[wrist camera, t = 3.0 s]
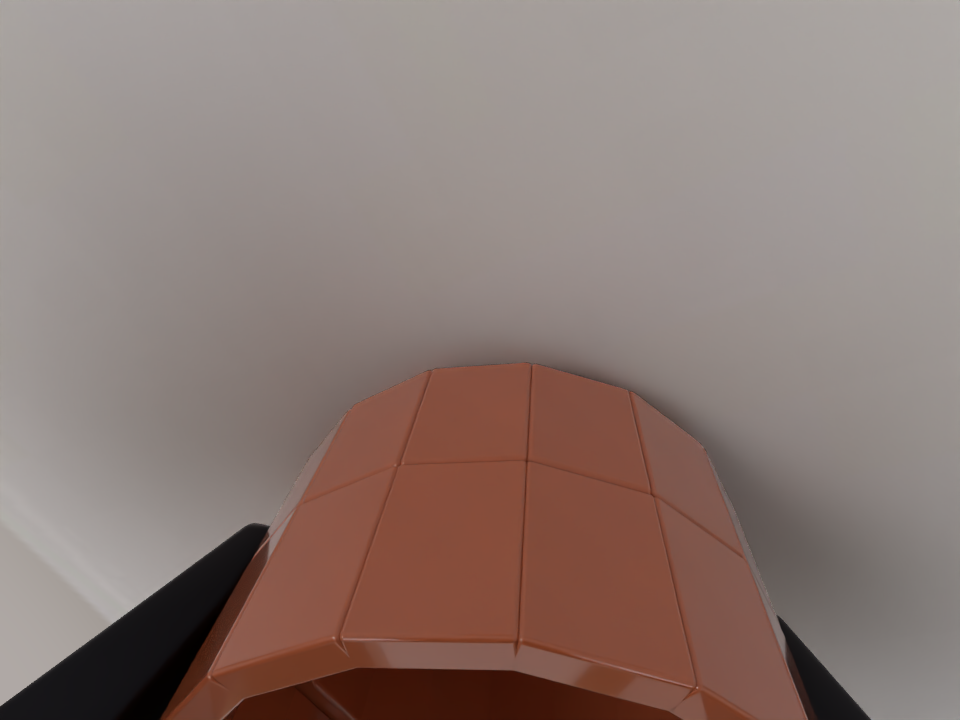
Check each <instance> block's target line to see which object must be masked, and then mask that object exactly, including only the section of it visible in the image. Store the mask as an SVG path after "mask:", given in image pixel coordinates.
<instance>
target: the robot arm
mask: <svg viewBox="0 0 960 720" xmlns="http://www.w3.org/2000/svg"><path fill="white" fill-rule="evenodd" d="M269 528H270V526H268V525H262V524H257V523H252V524H249V525H247V526H245V527H244V528H242V529H241V530H240V531H238V532H237V533H236V534H234V535H233V536H232V537H230V538H229V539H227V540H226V541H225V542H223V543H222V544H221V545H219V546H218V547H217V548H215V549H214V550H212V551H211V552H210V553H208V554H207V555H206V556H204V557H203V558H202V559H200V560H199V561H197V562H196V563H195V564H193V565H192V566H191V567H189V568H188V569H187V570H185V571H184V572H183V573H181V574H180V575H178V576H177V577H176V578H174V579H173V580H172V581H170V582H169V583H168V584H166V585H165V586H163V587H162V588H161V589H159V590H158V591H157V592H155V593H154V594H153V595H151V596H150V597H148V598H147V599H146V600H144V601H143V602H142V603H140V604H139V605H138V606H136V607H135V608H134V609H132V610H131V611H129V612H128V613H127V614H125V615H124V616H123V617H121V618H120V619H119V620H117V621H116V622H114V623H113V624H112V625H110V626H109V627H108V628H106V629H105V630H104V631H102V632H101V633H100V634H98V635H97V636H95V637H94V638H93V639H91V640H90V641H89V642H87V643H86V644H85V645H83V646H82V647H81V648H79V649H78V650H76V651H75V652H74V653H72V654H71V655H70V656H68V657H67V658H66V659H64V660H63V661H61V662H60V663H59V664H57V665H56V666H55V667H53V668H52V669H51V670H49V671H48V672H46V673H45V674H44V675H42V676H41V677H40V678H38V679H37V680H36V681H34V682H33V683H31V684H30V685H29V686H27V687H26V688H25V689H23V690H22V691H21V692H19V693H18V694H16V695H15V696H14V697H12V698H11V699H10V700H8V701H7V702H6V703H4V704H3V705H2V706H0V720H160V719H161V717H162V715H163V714H164V712H165V710H166V708H167V707H168V705H169V703H170V701H171V699H172V698H173V696H174V694H175V692H176V691H177V689H178V687H179V685H180V684H181V682H182V680H183V678H184V677H185V675H186V673H187V671H188V670H189V668H190V666H191V664H192V662H193V661H194V659H195V657H196V655H197V654H198V652H199V650H200V648H201V647H202V645H203V643H204V641H205V640H206V638H207V636H208V634H209V633H210V631H211V629H212V627H213V626H214V624H215V622H216V620H217V618H218V617H219V615H220V613H221V611H222V610H223V608H224V606H225V604H226V603H227V601H228V599H229V597H230V596H231V594H232V592H233V590H234V589H235V587H236V585H237V583H238V581H239V580H240V578H241V576H242V574H243V573H244V571H245V569H246V567H247V566H248V564H249V563H250V562H251V560H252V558H253V557H254V554H255V552H256V551H257V549H258V547H259V545H260V543H261V542H262V540H263V538H264V536H265V535H266V533H267V531H268V529H269ZM776 616H777V618H778V621H779V624H780V626H781V627H780V628H781V630H782V632H783V634H784V636H785V639H786V641H787V644H788V646H789V649H790V651H791V654H792V656H793V659H794V662H795V664H796V667H797V669H798V672H799V674H800V677H801V679H802V682H803V684H804V687H805V689H806V692H807V695H808V697H809V700H810V702H811V705H812V707H813V710H814V712H815V715H816V717H817V720H871V719H870V718H869V717H868V716H867V715H866V713H865V712H864V711H863V710H862V709H861V708H860V707H859V706H858V704H857V703H856V702H855V701H854V700H853V699H852V698H851V696H850V695H849V694H848V693H847V692H846V691H845V690H844V689H843V687H842V686H841V685H840V684H839V683H838V682H837V681H836V680H835V678H834V677H833V676H832V675H831V674H830V673H829V672H828V670H827V669H826V668H825V667H824V666H823V665H822V664H821V663H820V661H819V660H818V659H817V658H816V657H815V656H814V655H813V654H812V652H811V651H810V650H809V649H808V648H807V647H806V646H805V644H804V643H803V642H802V641H801V640H800V639H799V638H798V637H797V635H796V634H795V633H794V632H793V631H792V630H791V629H790V628H789V626H788V625H787V624H786V623H785V622H784V621H783V620H782V619H781V618H780V617H779V616H778V615H776Z"/></svg>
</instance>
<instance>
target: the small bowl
mask: <svg viewBox="0 0 960 720" xmlns="http://www.w3.org/2000/svg"><path fill="white" fill-rule="evenodd" d="M780 627H781V626H780V624H779V621H778V618H777V616H776V613H775V611H774V608H773V606H772V603H771V601H770V598H769V596H768V593H767V591H766V588H765V585H764V583H763V580H762V578H761V575H760V573H759V570H758V568H757V565H756V563H755V560H754V558H753V555H752V552H751V550H750V547H749V545H748V542H747V540H746V537H745V535H744V532H743V530H742V527H741V525H740V522H739V519H738V517H737V514H736V512H735V509H734V507H733V505H732V503H731V501H730V499H729V497H728V495H727V493H726V491H725V489H724V487H723V485H722V483H721V481H720V479H719V477H718V474H717V472H716V470H715V468H714V466H713V464H712V462H711V460H710V458H709V456H708V454H707V452H706V450H705V449H704V448H703V447H702V445H701V443H699V442H698V441H697V440H696V439H694V438H693V437H692V436H690V435H689V434H688V433H686V432H685V431H684V430H682V429H681V428H680V427H679V426H677V425H676V424H675V423H673V422H672V421H671V420H669V419H668V418H667V417H665V416H664V415H663V414H661V413H660V412H659V411H658V410H656V409H655V408H654V407H652V406H651V405H650V404H648V403H647V402H646V401H644V400H643V399H642V398H640V397H639V396H638V395H637V394H635V393H634V392H632V391H630V392H629V391H627V390H626V389H624V388H620V387H617V386H613V385H610V384H606V383H602V382H599V381H595V380H592V379H588V378H585V377H581V376H578V375H574V374H571V373H567V372H564V371H560V370H557V369H553V368H550V367H546V366H543V365H539V364H533V365H531V364H530V363H528V362H526V363H511V364H495V365H480V366H464V367H448V368H436V369H433V370H432V371H431V370H428V371H425V372H423V373H421V374H419V375H417V376H415V377H413V378H410V379H408V380H406V381H404V382H402V383H400V384H397V385H395V386H393V387H391V388H389V389H387V390H385V391H382V392H380V393H378V394H376V395H374V396H372V397H370V398H367V399H365V400H363V401H361V402H359V403H357V404H354V406H353V407H352V409H350V410H348V411H347V412H346V413H345V414H344V416H343V417H342V418H341V419H340V421H339V422H338V423H337V424H336V426H335V427H334V428H333V429H332V431H331V432H330V433H329V434H328V435H327V437H326V438H325V439H324V440H323V442H322V443H321V444H320V445H319V447H318V448H317V449H316V450H315V452H314V453H313V454H312V455H311V457H310V458H309V459H308V461H307V462H306V464H305V466H304V468H303V469H302V471H301V473H300V475H299V476H298V478H297V480H296V482H295V484H294V485H293V487H292V489H291V491H290V492H289V494H288V496H287V498H286V499H285V501H284V503H283V505H282V506H281V508H280V510H279V512H278V513H277V515H276V517H275V519H274V521H273V522H272V524H271V526H270V528H269V529H268V531H267V533H266V535H265V536H264V538H263V540H262V542H261V543H260V545H259V547H258V549H257V551H256V552H255V554H254V557H253V558H252V560H251V562H250V563H249V564H248V566H247V567H246V569H245V571H244V573H243V574H242V576H241V578H240V580H239V581H238V583H237V585H236V587H235V589H234V590H233V592H232V594H231V596H230V597H229V599H228V601H227V603H226V604H225V606H224V608H223V610H222V611H221V613H220V615H219V617H218V618H217V620H216V622H215V624H214V626H213V627H212V629H211V631H210V633H209V634H208V636H207V638H206V640H205V641H204V643H203V645H202V647H201V648H200V650H199V652H198V654H197V655H196V657H195V659H194V661H193V662H192V664H191V666H190V668H189V670H188V671H187V673H186V675H185V677H184V678H183V680H182V682H181V684H180V685H179V687H178V689H177V691H176V692H175V694H174V696H173V698H172V699H171V701H170V703H169V705H168V707H167V708H166V710H165V712H164V714H163V715H162V717H161V719H160V720H817V717H816V715H815V712H814V710H813V707H812V705H811V702H810V700H809V697H808V695H807V692H806V689H805V687H804V684H803V682H802V679H801V677H800V674H799V672H798V669H797V667H796V664H795V662H794V659H793V656H792V654H791V651H790V649H789V646H788V644H787V641H786V639H785V636H784V634H783V632H782V630H781V628H780Z"/></svg>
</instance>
